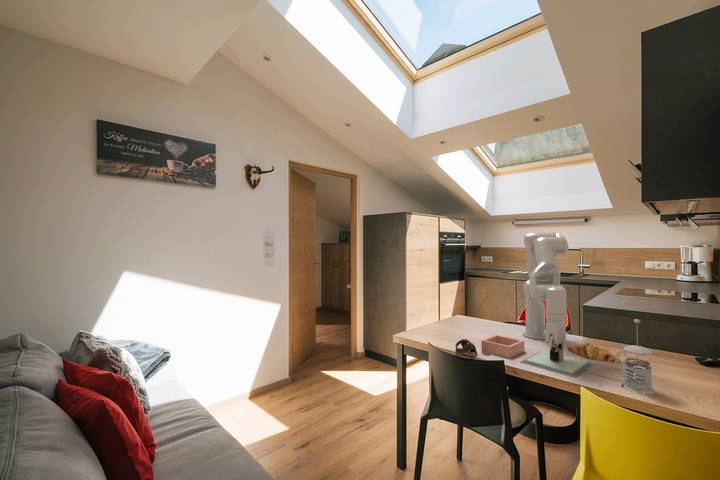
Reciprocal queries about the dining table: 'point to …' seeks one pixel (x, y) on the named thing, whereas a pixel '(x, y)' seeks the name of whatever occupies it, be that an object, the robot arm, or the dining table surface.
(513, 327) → the dining table surface
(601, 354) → the croissant
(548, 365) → the lid
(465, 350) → the brown napkin holder
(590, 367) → the mat
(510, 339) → the shallow wooden crate
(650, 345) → the dining table surface
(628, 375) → the french press
